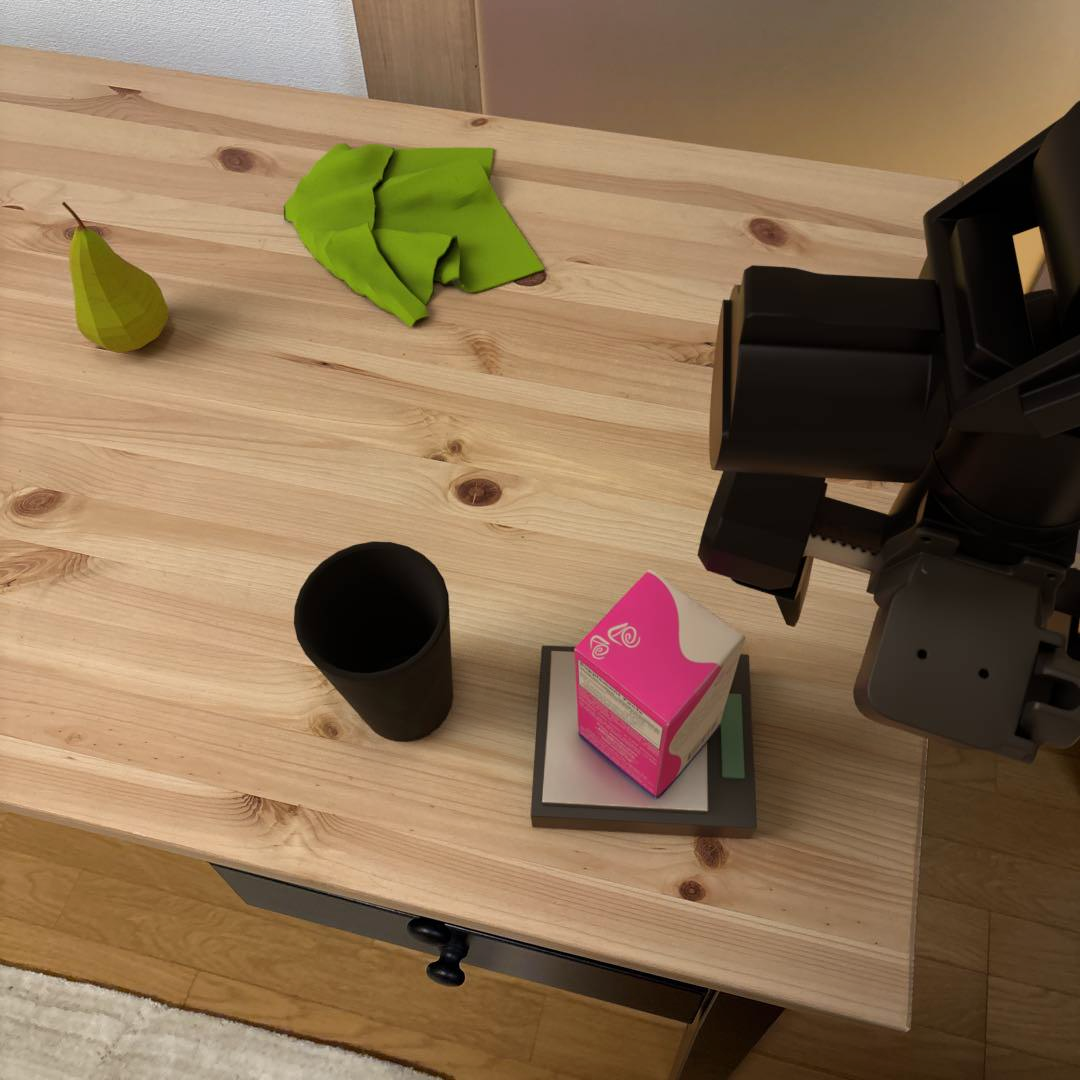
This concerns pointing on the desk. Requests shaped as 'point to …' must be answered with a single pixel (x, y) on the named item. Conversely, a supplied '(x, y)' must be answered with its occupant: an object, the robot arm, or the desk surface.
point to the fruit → (112, 295)
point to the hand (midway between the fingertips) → (890, 648)
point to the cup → (381, 636)
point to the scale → (613, 797)
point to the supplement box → (654, 681)
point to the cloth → (408, 224)
